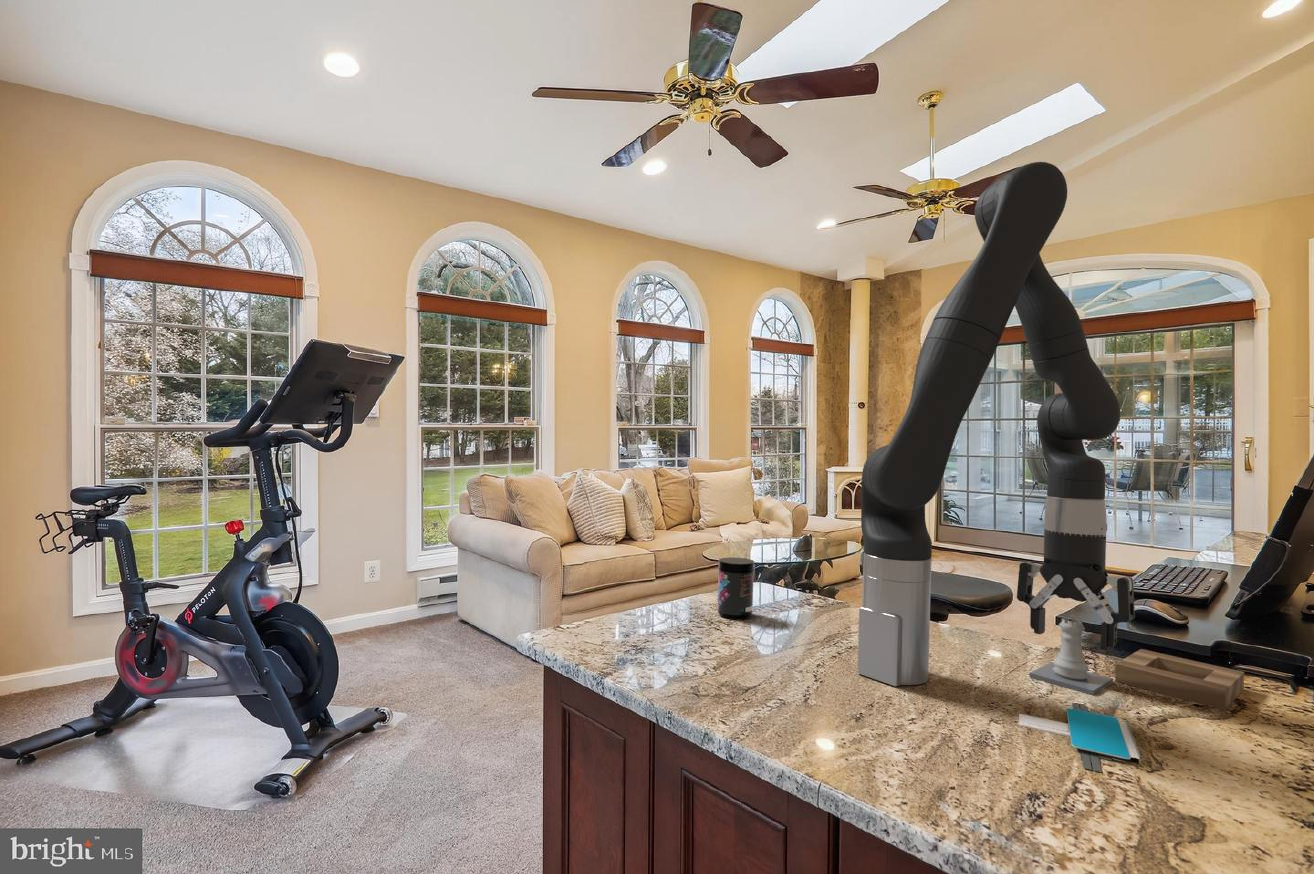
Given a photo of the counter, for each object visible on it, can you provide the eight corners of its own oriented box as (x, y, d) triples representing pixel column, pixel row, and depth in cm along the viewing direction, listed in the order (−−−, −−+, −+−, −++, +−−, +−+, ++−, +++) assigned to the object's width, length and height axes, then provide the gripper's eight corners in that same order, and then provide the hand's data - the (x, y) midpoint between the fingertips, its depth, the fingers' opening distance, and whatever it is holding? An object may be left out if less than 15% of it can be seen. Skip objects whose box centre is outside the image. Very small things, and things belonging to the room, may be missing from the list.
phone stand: (1019, 697, 86) (1020, 685, 86) (1128, 718, 80) (1128, 705, 80) (1017, 758, 69) (1017, 743, 69) (1155, 791, 63) (1156, 775, 63)
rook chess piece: (1095, 682, 89) (1096, 625, 89) (1059, 679, 90) (1061, 622, 90) (1080, 671, 93) (1082, 617, 94) (1047, 668, 94) (1048, 614, 94)
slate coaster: (1093, 695, 86) (1093, 690, 86) (1029, 676, 92) (1029, 672, 92) (1112, 682, 91) (1112, 678, 91) (1051, 666, 97) (1051, 662, 97)
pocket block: (1224, 710, 82) (1225, 690, 82) (1115, 681, 92) (1115, 663, 92) (1243, 689, 90) (1244, 672, 90) (1140, 664, 99) (1141, 648, 99)
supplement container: (727, 608, 126) (728, 556, 126) (758, 614, 122) (760, 560, 122) (710, 615, 120) (712, 560, 120) (743, 622, 116) (744, 565, 116)
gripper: (1011, 524, 95) (1008, 632, 95) (1125, 537, 84) (1122, 660, 84) (1031, 521, 100) (1029, 624, 100) (1142, 533, 89) (1139, 649, 89)
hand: (1071, 640), depth 92 cm, fingers open, 8 cm apart
